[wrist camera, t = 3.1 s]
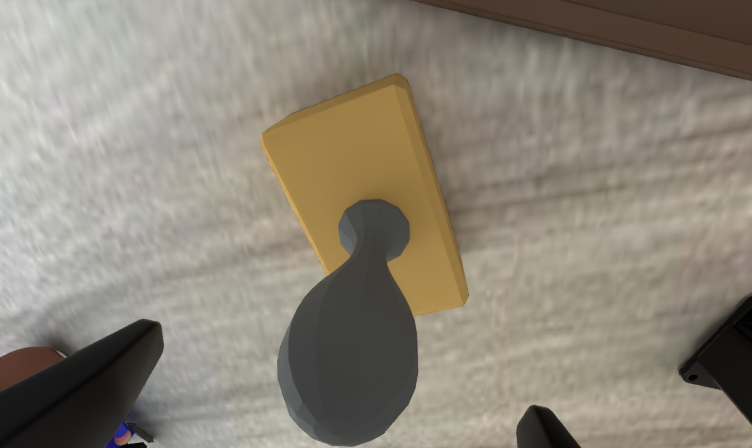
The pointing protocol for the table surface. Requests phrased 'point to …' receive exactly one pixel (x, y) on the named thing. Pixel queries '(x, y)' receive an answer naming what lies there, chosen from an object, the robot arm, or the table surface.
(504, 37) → the table surface
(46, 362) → the figurine character
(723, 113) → the table surface
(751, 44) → the tray
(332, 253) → the rubber stamp
